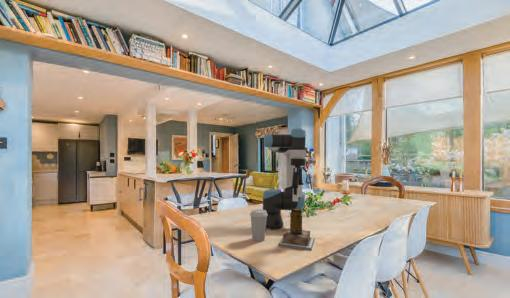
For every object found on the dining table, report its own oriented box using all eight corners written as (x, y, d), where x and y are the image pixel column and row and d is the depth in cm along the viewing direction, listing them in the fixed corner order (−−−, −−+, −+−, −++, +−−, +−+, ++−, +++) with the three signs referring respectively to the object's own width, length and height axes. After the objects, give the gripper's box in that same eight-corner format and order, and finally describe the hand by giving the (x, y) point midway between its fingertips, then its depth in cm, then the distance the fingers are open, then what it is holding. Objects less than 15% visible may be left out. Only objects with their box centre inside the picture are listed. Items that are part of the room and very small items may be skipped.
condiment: (295, 229, 126) (295, 207, 127) (308, 234, 120) (308, 210, 120) (286, 232, 121) (286, 209, 122) (299, 236, 115) (299, 212, 115)
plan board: (278, 245, 116) (278, 243, 116) (284, 236, 131) (284, 233, 131) (311, 250, 111) (311, 247, 111) (314, 239, 126) (314, 237, 126)
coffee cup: (246, 237, 127) (247, 209, 128) (262, 235, 131) (263, 208, 131) (253, 243, 118) (253, 213, 119) (270, 241, 122) (270, 212, 123)
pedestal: (283, 242, 117) (283, 234, 117) (287, 235, 129) (287, 228, 129) (307, 246, 113) (307, 237, 114) (310, 238, 125) (310, 230, 125)
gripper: (302, 158, 110) (301, 203, 109) (307, 158, 133) (307, 196, 133) (286, 157, 112) (285, 202, 111) (294, 158, 136) (294, 195, 135)
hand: (297, 199), depth 122 cm, fingers open, 13 cm apart
